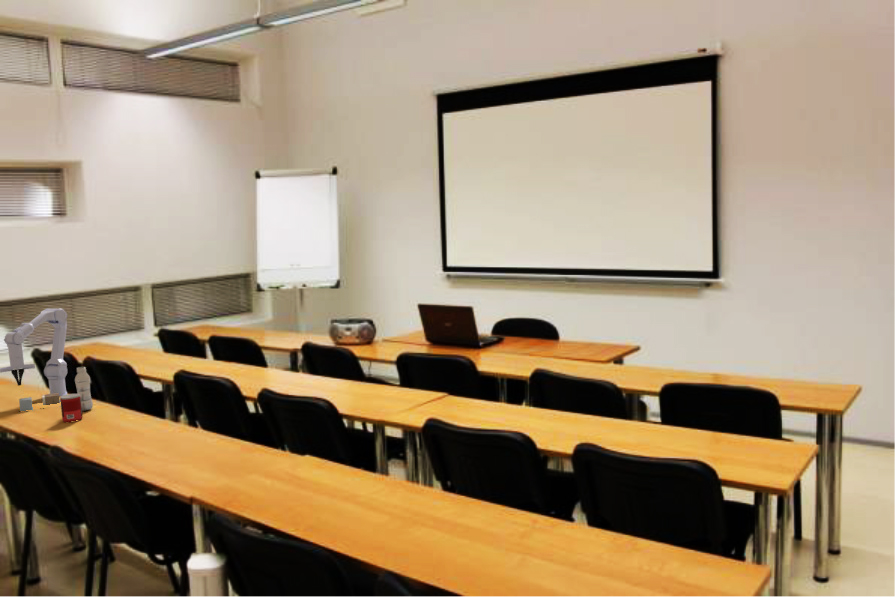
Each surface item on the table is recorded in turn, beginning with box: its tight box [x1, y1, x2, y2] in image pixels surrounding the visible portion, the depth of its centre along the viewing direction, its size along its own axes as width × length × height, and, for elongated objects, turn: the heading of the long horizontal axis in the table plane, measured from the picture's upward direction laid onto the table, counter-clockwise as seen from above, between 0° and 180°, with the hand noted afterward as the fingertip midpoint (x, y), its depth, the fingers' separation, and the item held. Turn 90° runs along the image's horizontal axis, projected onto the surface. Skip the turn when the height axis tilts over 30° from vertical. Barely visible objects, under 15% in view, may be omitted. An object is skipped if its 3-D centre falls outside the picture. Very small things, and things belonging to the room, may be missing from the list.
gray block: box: [18, 396, 34, 412], centre depth 356 cm, size 5×5×5 cm
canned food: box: [59, 393, 83, 423], centre depth 333 cm, size 8×8×11 cm
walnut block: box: [41, 393, 60, 405], centre depth 367 cm, size 6×4×7 cm
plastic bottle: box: [74, 366, 94, 412], centre depth 349 cm, size 6×7×20 cm
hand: (19, 385), depth 363 cm, fingers closed
